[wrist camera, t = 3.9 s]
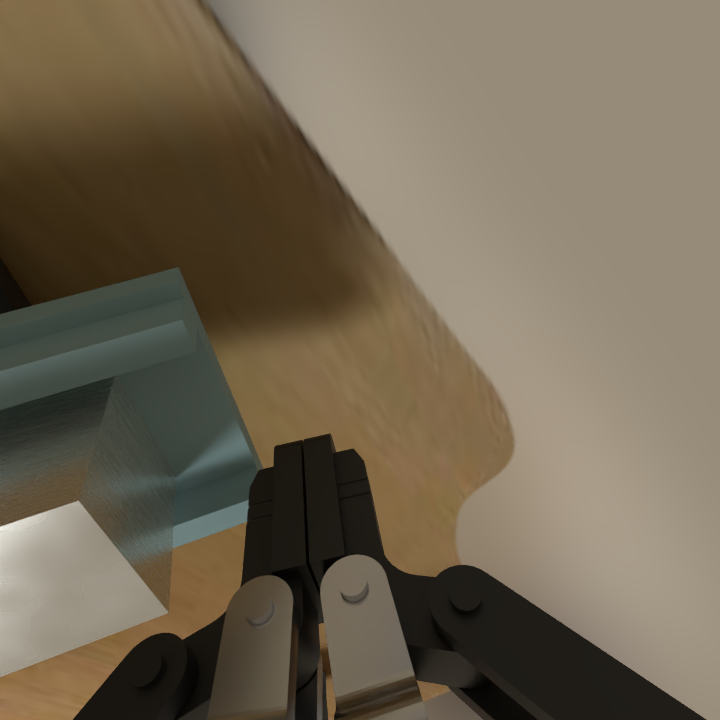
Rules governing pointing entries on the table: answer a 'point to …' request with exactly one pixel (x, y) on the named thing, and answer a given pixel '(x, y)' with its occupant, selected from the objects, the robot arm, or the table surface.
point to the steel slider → (80, 522)
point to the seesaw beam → (143, 384)
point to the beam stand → (10, 292)
